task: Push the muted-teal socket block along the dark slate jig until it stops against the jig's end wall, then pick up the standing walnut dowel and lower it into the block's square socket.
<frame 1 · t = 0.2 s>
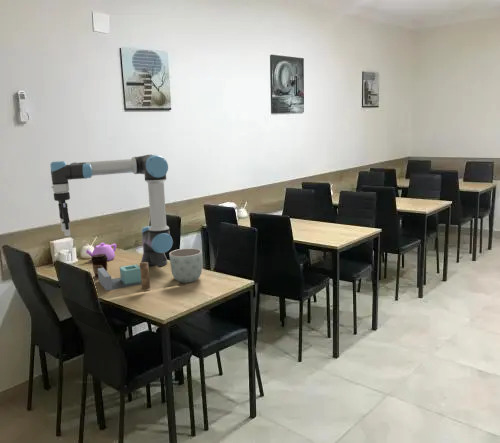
hand: (66, 233, 248), 28 cm above the table, fingers open, 13 cm apart
jig: (123, 284, 251), on the table
dowel: (146, 290, 241), on the table
block: (131, 274, 252), point 5 cm above the table, slide at 0.0 cm
teapot: (102, 260, 302), on the table
planter: (187, 280, 254), on the table
coffee cup: (101, 278, 264), on the table
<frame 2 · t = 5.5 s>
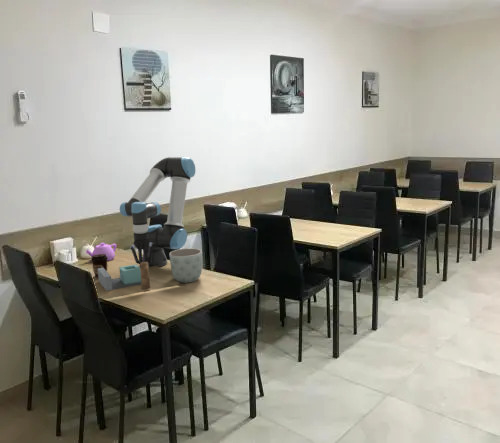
hand: (144, 275, 256), 3 cm above the table, fingers closed
block: (130, 274, 252), point 5 cm above the table, slide at 0.2 cm, touching gripper
everything else where it was.
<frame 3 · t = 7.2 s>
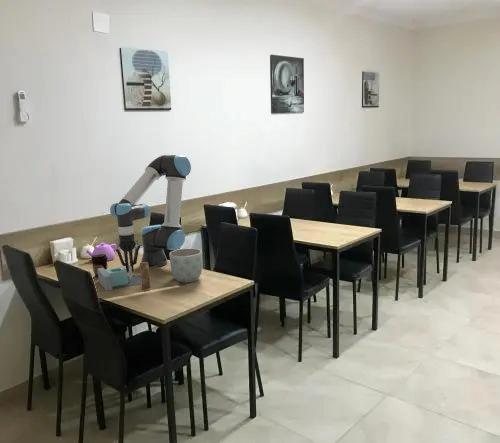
hand: (130, 277, 253), 3 cm above the table, fingers closed
block: (116, 276, 249), point 5 cm above the table, slide at 7.5 cm, touching gripper, jig
everything else where it was.
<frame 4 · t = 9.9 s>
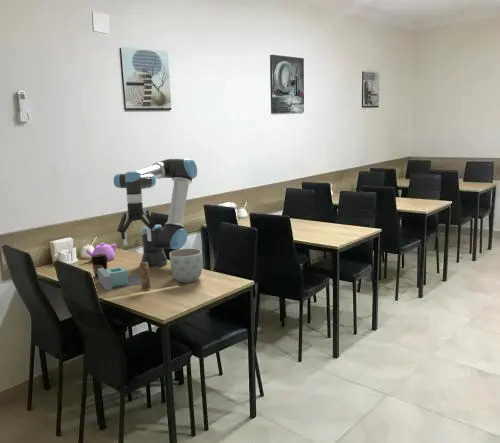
hand: (137, 243, 249), 21 cm above the table, fingers open, 13 cm apart
block: (116, 276, 249), point 5 cm above the table, slide at 7.5 cm
everything else where it was.
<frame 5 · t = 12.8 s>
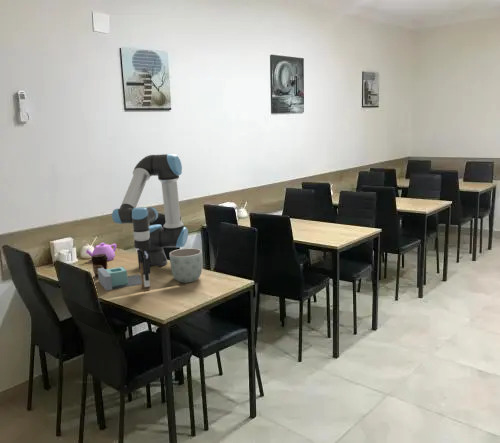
hand: (145, 285, 240), 3 cm above the table, fingers closed on dowel, 4 cm apart
dowel: (146, 290, 241), on the table, touching gripper
everything else where it was.
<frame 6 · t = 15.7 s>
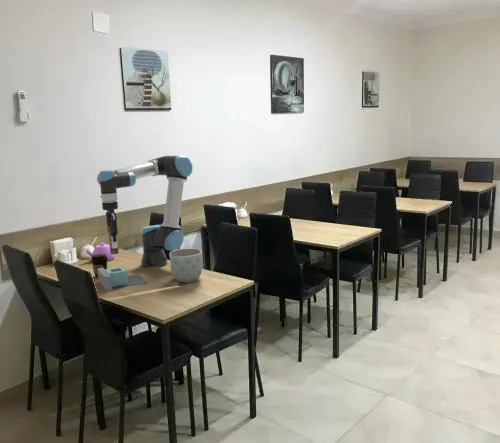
hand: (113, 246, 246), 21 cm above the table, fingers closed on dowel, 4 cm apart
dowel: (114, 253, 247), point 17 cm above the table, touching gripper
everything else where it was.
when the fingers open (10 cm above the table, at t = 18.4 s): dowel drops 2 cm, resting on block.
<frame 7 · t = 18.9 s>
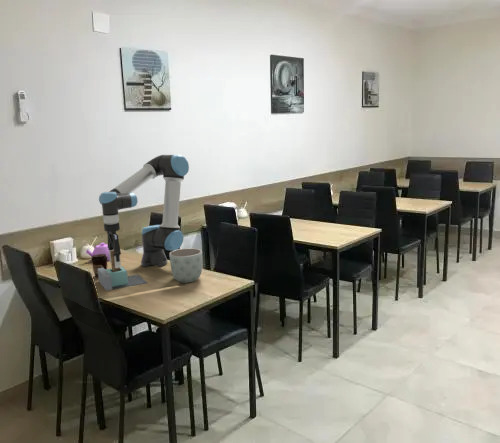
hand: (115, 264, 248), 11 cm above the table, fingers open, 11 cm apart
dowel: (116, 277, 249), point 4 cm above the table, touching block
block: (116, 276, 249), point 5 cm above the table, slide at 7.5 cm, touching dowel
everything else where it was.
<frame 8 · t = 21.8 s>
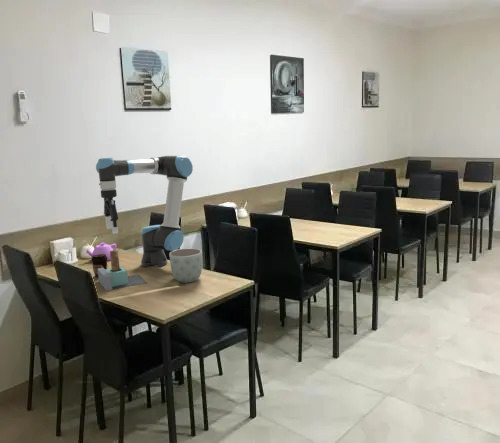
hand: (112, 231, 244), 29 cm above the table, fingers open, 13 cm apart
nothing on the table moved.
at the end: block slide at 7.5 cm; dowel 0.0 cm off-centre on the block, point 3.0 cm above the block's base; dowel tilted 0° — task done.
